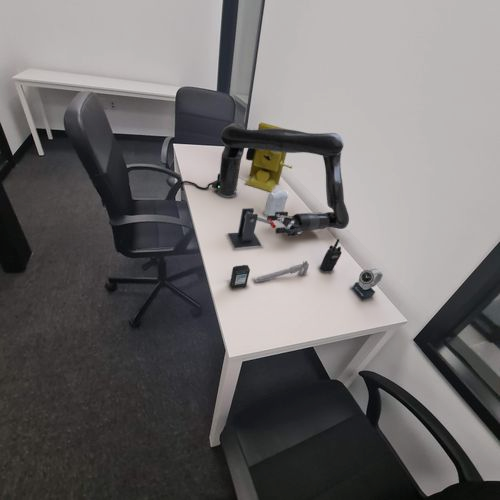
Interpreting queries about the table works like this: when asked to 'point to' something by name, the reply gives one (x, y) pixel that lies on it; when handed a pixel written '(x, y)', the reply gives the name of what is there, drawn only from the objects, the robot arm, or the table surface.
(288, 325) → the table surface
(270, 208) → the photo printer
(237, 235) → the stand
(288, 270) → the caliper
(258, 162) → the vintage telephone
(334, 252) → the two-way radio
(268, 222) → the lever
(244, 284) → the ink cartridge
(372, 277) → the watch
